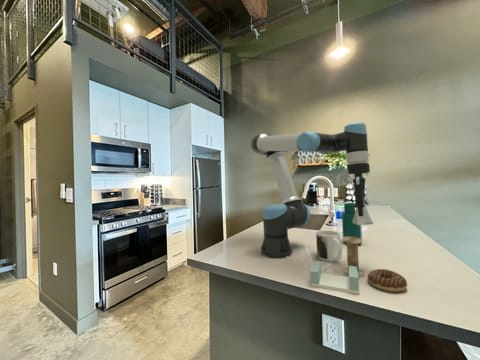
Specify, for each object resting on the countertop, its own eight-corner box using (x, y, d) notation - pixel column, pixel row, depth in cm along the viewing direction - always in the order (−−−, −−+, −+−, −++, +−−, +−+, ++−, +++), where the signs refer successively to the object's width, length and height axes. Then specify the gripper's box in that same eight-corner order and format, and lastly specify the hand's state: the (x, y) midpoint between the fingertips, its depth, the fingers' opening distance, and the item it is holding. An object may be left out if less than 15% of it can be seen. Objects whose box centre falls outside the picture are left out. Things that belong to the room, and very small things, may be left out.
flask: (370, 221, 83) (368, 196, 83) (375, 225, 76) (373, 197, 77) (350, 221, 85) (348, 197, 86) (353, 225, 79) (351, 198, 79)
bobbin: (344, 275, 77) (342, 240, 77) (344, 269, 82) (342, 235, 82) (363, 278, 74) (361, 241, 74) (362, 271, 79) (360, 237, 79)
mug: (342, 254, 97) (341, 230, 97) (342, 264, 86) (341, 237, 86) (317, 252, 102) (316, 229, 102) (315, 261, 91) (314, 235, 91)
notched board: (311, 286, 70) (310, 271, 70) (314, 274, 78) (313, 261, 78) (359, 294, 64) (358, 278, 64) (357, 281, 72) (356, 266, 72)
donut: (416, 293, 64) (416, 279, 64) (384, 296, 63) (383, 282, 63) (389, 277, 74) (388, 265, 75) (360, 279, 74) (360, 268, 74)
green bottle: (345, 240, 119) (343, 201, 120) (362, 242, 114) (360, 201, 115) (342, 244, 111) (340, 203, 112) (360, 247, 106) (358, 203, 107)
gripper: (367, 160, 71) (373, 228, 70) (370, 163, 88) (374, 219, 87) (343, 163, 75) (348, 227, 75) (350, 165, 92) (354, 218, 91)
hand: (362, 222), depth 81 cm, fingers closed on flask, 7 cm apart
